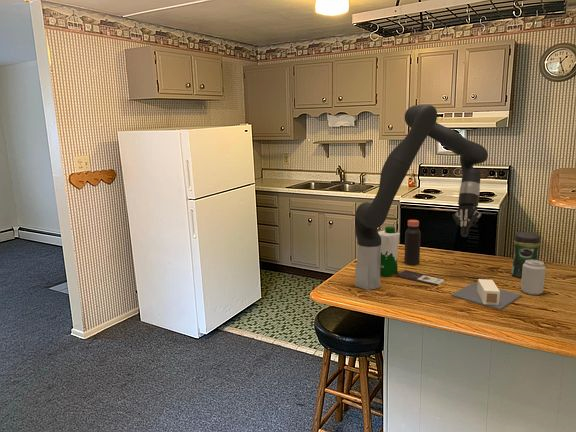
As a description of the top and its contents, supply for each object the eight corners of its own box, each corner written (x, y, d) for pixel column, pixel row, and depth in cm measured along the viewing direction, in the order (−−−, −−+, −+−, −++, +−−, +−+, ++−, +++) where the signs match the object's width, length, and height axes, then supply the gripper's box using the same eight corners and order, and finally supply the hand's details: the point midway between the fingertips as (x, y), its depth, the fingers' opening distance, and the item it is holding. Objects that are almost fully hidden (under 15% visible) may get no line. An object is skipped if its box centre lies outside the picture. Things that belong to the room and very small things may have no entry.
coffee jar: (537, 274, 184) (541, 231, 180) (537, 280, 177) (541, 235, 173) (511, 271, 188) (515, 229, 185) (510, 277, 181) (514, 233, 178)
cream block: (491, 292, 164) (499, 305, 152) (477, 291, 165) (483, 304, 153) (492, 279, 163) (500, 291, 151) (477, 279, 164) (484, 290, 152)
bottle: (401, 262, 203) (402, 220, 199) (412, 260, 206) (413, 218, 202) (411, 266, 197) (413, 223, 193) (422, 264, 200) (424, 221, 196)
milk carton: (400, 273, 188) (402, 228, 184) (386, 278, 183) (388, 231, 179) (384, 268, 195) (385, 225, 191) (370, 273, 189) (371, 228, 185)
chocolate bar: (405, 270, 191) (446, 278, 179) (405, 272, 191) (445, 281, 180) (395, 275, 184) (437, 284, 173) (395, 277, 185) (436, 287, 173)
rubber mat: (500, 310, 149) (500, 308, 149) (450, 296, 163) (450, 294, 162) (521, 296, 161) (521, 294, 161) (473, 284, 174) (473, 282, 174)
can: (531, 296, 160) (534, 265, 158) (515, 289, 168) (518, 259, 165) (547, 294, 162) (551, 263, 160) (531, 287, 169) (534, 257, 167)
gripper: (449, 193, 181) (444, 234, 179) (476, 190, 170) (471, 234, 167) (462, 198, 185) (457, 238, 182) (489, 195, 173) (484, 238, 171)
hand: (464, 236), depth 175 cm, fingers closed
